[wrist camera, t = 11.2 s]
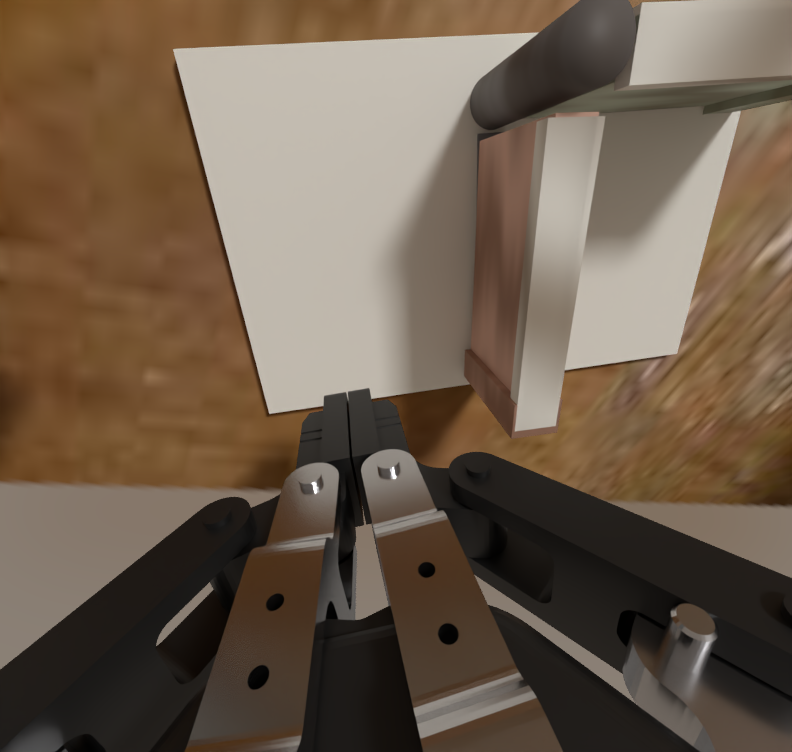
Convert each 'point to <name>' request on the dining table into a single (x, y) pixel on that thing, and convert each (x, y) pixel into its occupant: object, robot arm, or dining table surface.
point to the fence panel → (530, 264)
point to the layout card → (422, 211)
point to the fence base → (644, 61)
